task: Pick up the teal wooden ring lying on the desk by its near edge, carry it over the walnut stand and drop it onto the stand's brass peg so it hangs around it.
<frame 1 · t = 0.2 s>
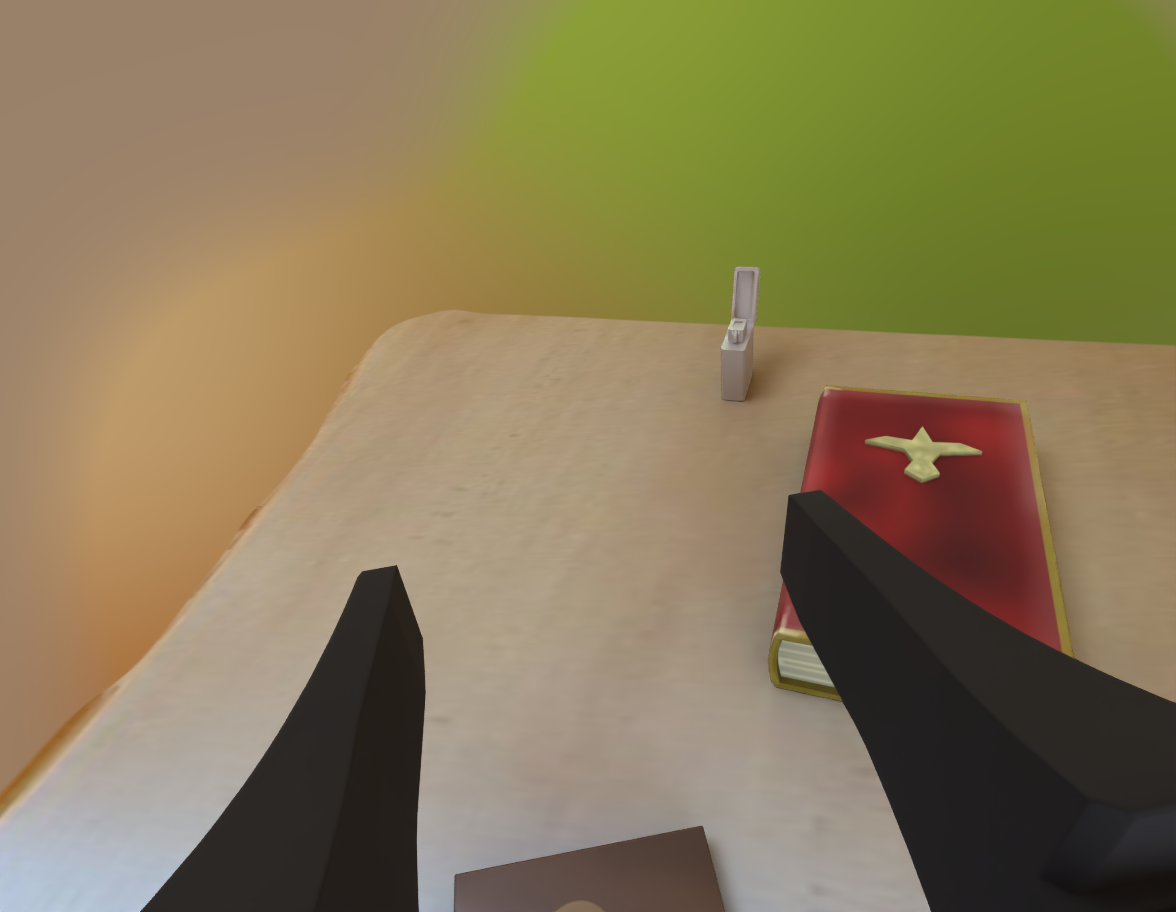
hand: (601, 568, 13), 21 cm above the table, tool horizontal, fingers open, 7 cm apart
hardcover book: (906, 555, 41), on the table
lighter: (740, 377, 58), on the table
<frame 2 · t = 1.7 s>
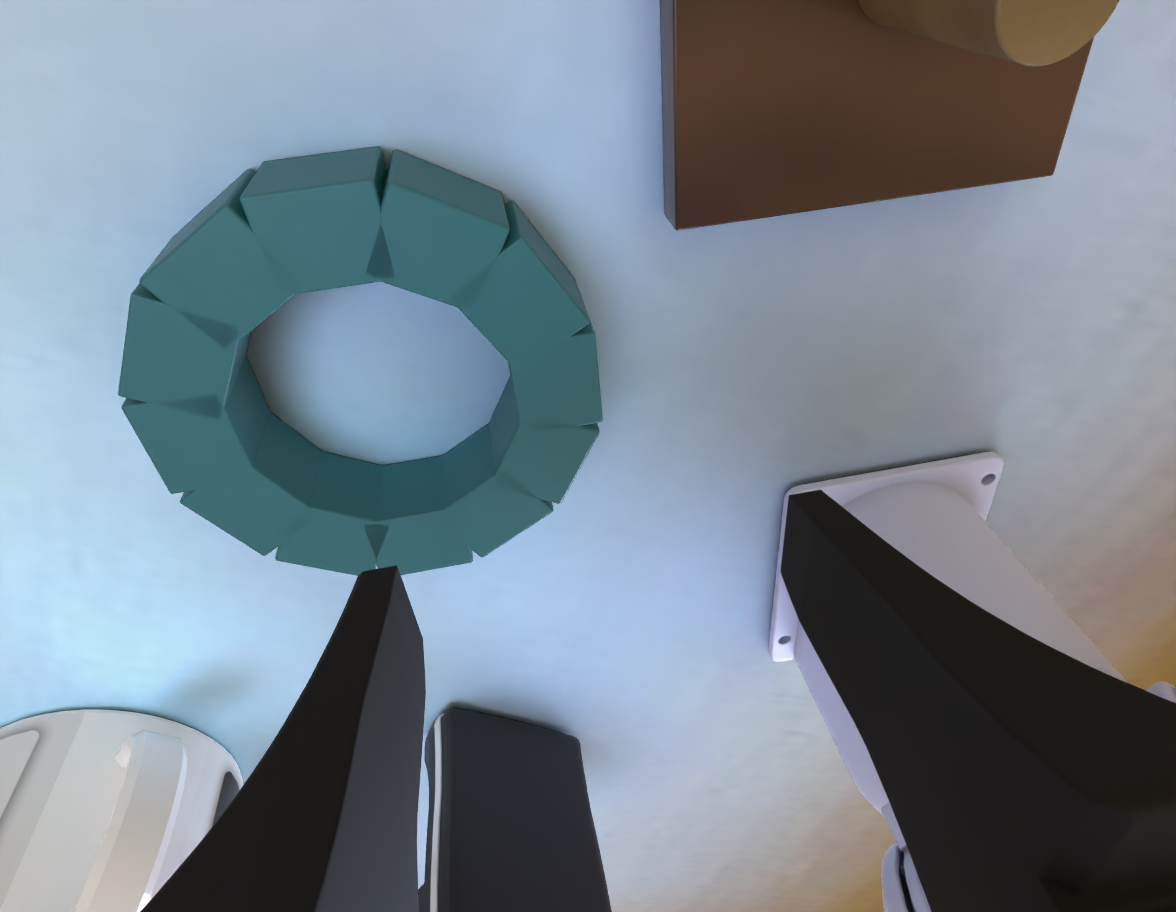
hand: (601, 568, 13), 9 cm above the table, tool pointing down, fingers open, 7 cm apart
mug: (133, 764, 29), on the table
ring: (384, 363, 20), on the table
battery charger: (495, 736, 32), on the table
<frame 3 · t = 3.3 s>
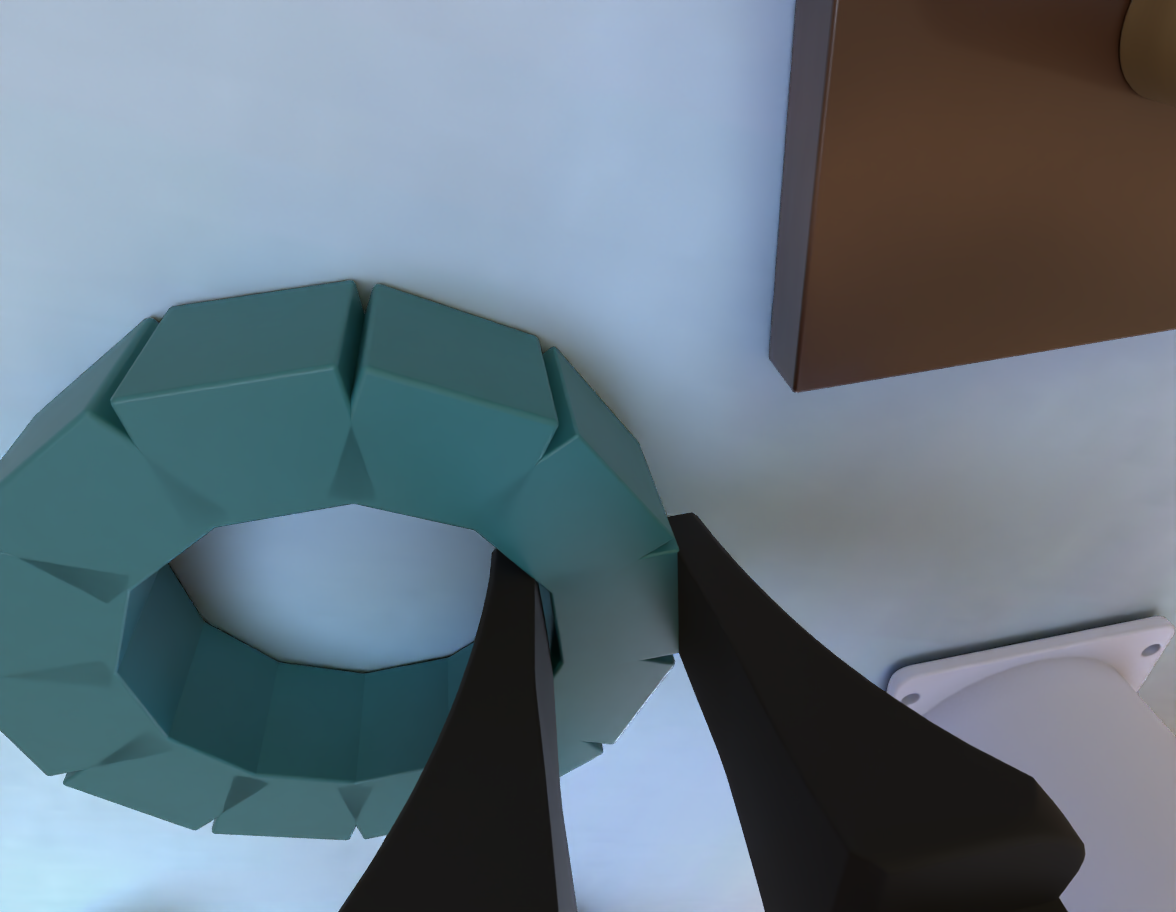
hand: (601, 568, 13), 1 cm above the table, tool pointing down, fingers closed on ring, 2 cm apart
ring: (365, 557, 14), on the table, touching gripper
when the fingers open (4 cm above the table, at t = 8.8 s): ring drops 2 cm, resting on stand.
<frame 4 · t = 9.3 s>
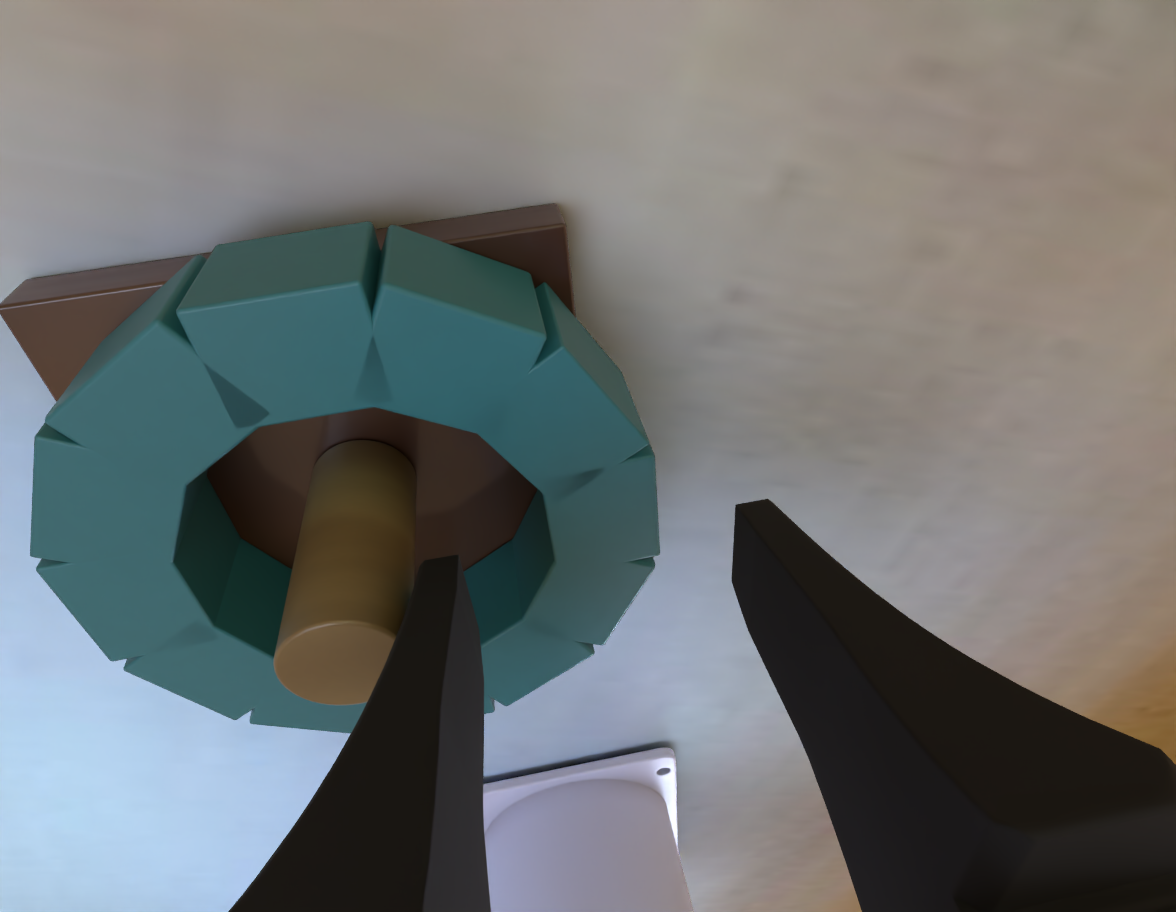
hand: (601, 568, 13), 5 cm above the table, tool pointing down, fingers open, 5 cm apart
stand: (369, 447, 17), on the table
ring: (381, 478, 16), point 1 cm above the table, touching stand
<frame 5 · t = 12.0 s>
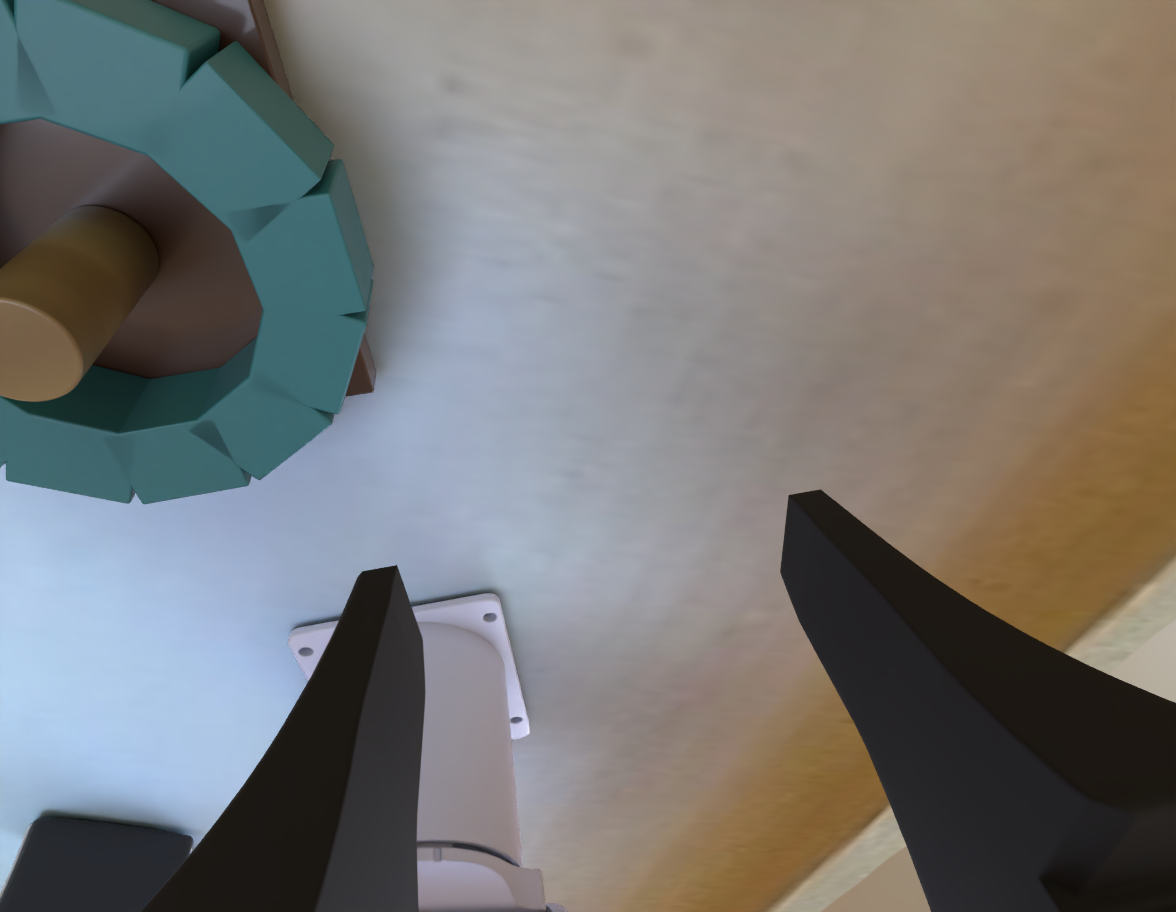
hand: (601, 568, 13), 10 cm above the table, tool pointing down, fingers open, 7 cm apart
stand: (124, 233, 18), on the table
ring: (124, 251, 18), point 1 cm above the table, touching stand
battery charger: (111, 835, 34), on the table
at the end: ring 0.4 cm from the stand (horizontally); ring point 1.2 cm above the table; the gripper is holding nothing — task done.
